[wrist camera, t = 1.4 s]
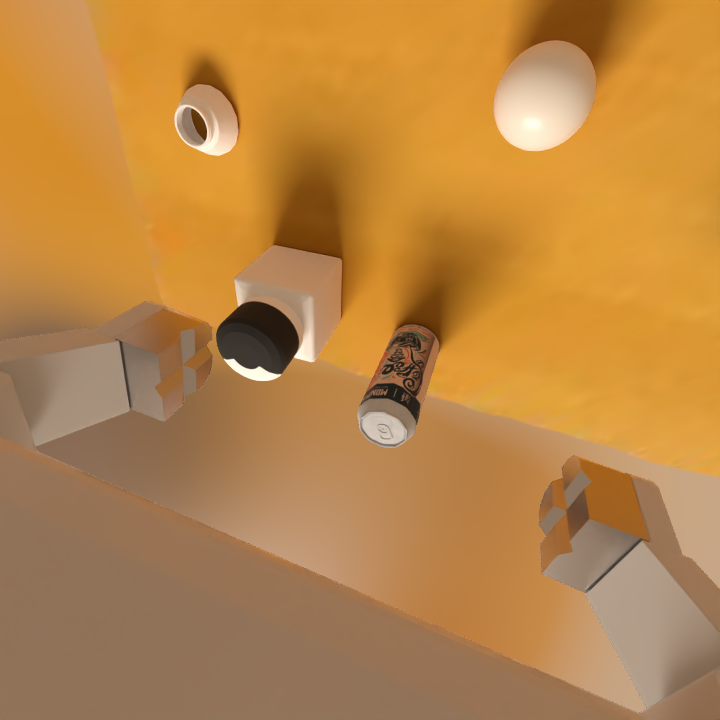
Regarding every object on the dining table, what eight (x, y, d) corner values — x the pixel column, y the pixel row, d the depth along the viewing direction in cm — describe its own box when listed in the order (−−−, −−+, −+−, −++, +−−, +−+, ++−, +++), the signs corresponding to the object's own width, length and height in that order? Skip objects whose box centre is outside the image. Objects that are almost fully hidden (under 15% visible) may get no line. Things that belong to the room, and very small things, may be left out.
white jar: (234, 164, 37) (246, 104, 34) (214, 173, 35) (226, 110, 31) (183, 133, 37) (190, 70, 33) (160, 141, 35) (166, 75, 31)
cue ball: (531, 20, 25) (530, 21, 21) (613, 65, 25) (627, 74, 21) (480, 116, 29) (471, 133, 25) (552, 155, 29) (554, 178, 25)
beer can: (435, 319, 40) (405, 407, 31) (444, 360, 42) (419, 452, 33) (387, 323, 42) (345, 407, 33) (399, 362, 44) (363, 450, 35)
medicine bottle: (272, 242, 40) (196, 307, 31) (343, 257, 39) (285, 329, 30) (277, 306, 45) (212, 379, 36) (341, 322, 43) (290, 401, 34)
